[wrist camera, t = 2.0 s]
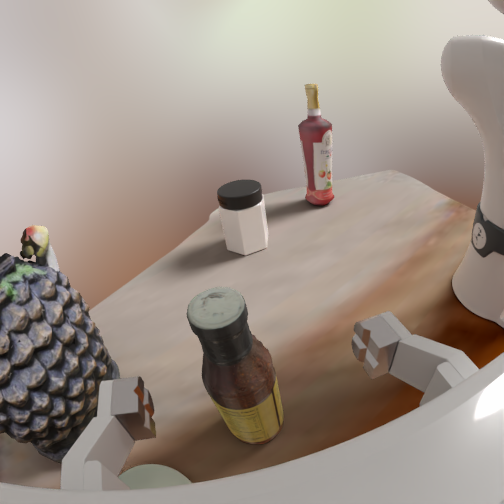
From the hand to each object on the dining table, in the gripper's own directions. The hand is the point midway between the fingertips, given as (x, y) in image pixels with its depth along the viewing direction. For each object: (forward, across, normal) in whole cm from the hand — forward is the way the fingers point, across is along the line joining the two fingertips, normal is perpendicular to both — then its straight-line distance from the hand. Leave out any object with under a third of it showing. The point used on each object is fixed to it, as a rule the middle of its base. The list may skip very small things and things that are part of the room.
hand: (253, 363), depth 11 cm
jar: (+48, -10, +21) cm, 53 cm away
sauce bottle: (+11, -1, +24) cm, 27 cm away
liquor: (+58, -30, +19) cm, 68 cm away
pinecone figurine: (+18, +22, +25) cm, 38 cm away
